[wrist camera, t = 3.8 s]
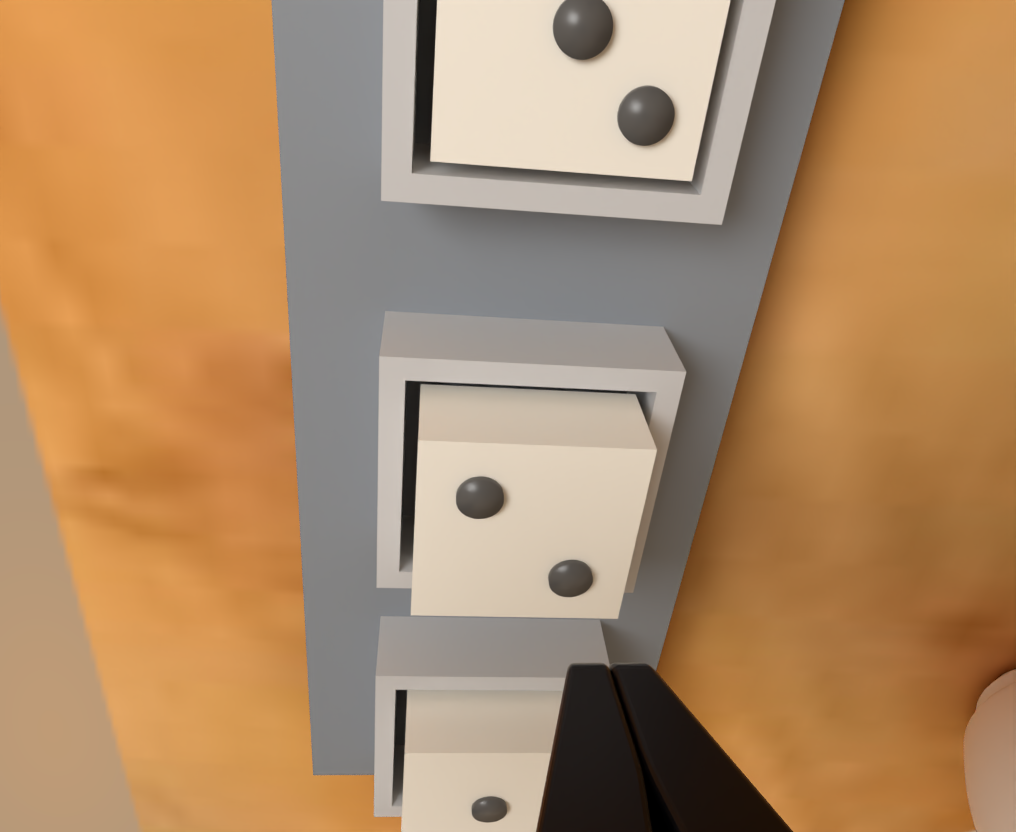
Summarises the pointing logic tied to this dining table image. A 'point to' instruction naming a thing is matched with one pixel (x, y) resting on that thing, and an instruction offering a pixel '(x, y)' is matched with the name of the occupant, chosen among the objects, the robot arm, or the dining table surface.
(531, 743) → the button one
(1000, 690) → the white egg-shaped piece
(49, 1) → the dining table surface
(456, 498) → the button two
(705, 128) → the button panel
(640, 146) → the button three
